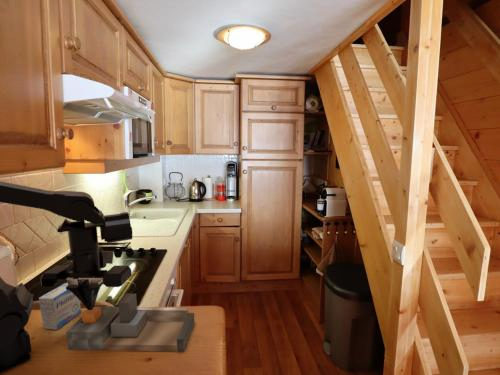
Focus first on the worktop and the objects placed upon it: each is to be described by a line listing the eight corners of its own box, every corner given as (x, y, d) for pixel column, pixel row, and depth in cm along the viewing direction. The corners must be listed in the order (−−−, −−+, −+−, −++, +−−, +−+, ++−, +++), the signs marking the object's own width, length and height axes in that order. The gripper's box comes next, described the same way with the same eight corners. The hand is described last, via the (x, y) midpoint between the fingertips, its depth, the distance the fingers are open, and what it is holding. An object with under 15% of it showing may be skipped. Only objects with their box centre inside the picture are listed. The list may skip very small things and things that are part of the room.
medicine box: (57, 331, 71) (53, 298, 69) (42, 329, 72) (37, 297, 70) (81, 312, 78) (78, 283, 77) (68, 311, 79) (64, 282, 78)
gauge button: (83, 327, 67) (81, 314, 66) (90, 320, 70) (89, 307, 69) (95, 327, 67) (93, 314, 66) (102, 320, 70) (100, 307, 69)
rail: (68, 349, 64) (66, 331, 63) (94, 322, 74) (92, 306, 73) (184, 351, 63) (183, 333, 62) (194, 323, 73) (193, 307, 72)
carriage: (111, 336, 65) (108, 304, 64) (123, 321, 71) (120, 291, 70) (137, 336, 65) (134, 304, 64) (146, 321, 71) (144, 292, 70)
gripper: (138, 235, 73) (143, 292, 75) (68, 235, 74) (75, 291, 76) (117, 251, 62) (122, 317, 64) (34, 251, 63) (43, 316, 65)
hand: (91, 309), depth 68 cm, fingers closed
